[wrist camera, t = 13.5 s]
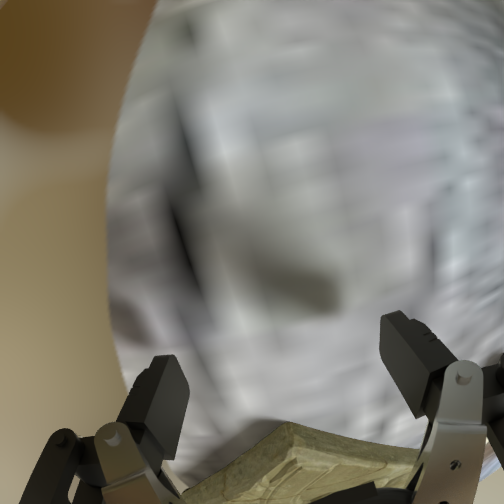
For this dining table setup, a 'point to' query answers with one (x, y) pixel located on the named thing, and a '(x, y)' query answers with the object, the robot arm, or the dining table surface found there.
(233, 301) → the dining table surface
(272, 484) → the decorative tile
